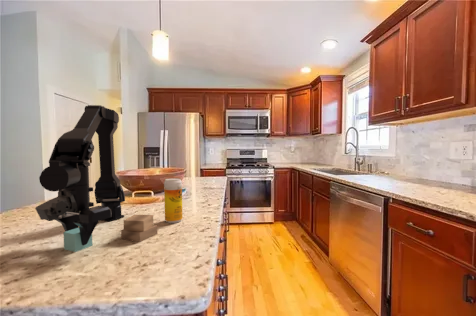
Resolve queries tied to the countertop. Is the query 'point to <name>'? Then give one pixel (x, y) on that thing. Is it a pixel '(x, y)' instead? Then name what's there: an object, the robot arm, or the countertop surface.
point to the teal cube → (74, 240)
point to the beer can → (173, 200)
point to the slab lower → (139, 234)
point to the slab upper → (138, 222)
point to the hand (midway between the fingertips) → (78, 243)
